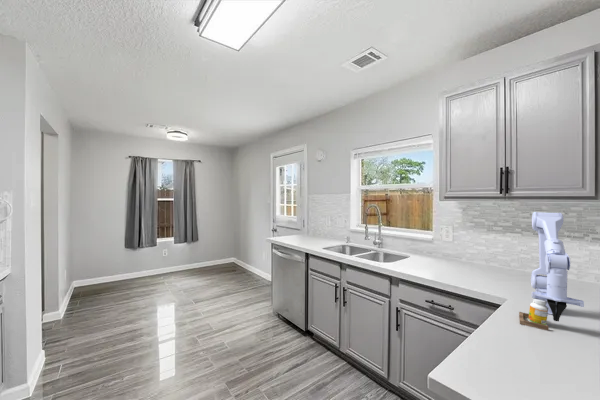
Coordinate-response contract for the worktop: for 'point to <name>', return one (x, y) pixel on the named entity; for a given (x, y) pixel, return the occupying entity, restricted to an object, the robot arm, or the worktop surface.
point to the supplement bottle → (538, 311)
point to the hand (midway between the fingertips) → (556, 320)
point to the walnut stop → (531, 324)
